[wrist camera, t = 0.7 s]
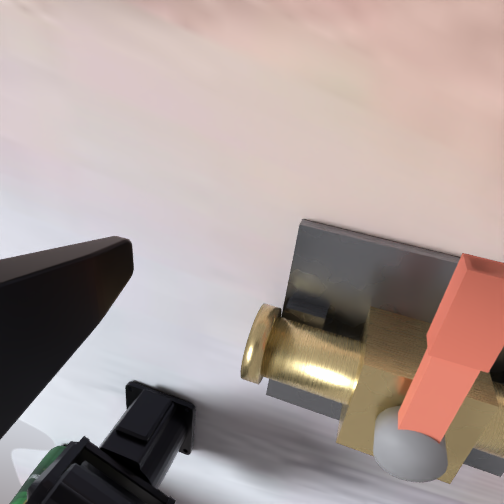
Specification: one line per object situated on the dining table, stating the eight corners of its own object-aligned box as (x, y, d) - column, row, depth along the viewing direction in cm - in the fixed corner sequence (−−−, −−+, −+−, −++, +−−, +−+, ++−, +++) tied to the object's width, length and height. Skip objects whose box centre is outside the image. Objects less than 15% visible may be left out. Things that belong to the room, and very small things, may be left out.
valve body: (642, 301, 19) (723, 389, 14) (514, 471, 26) (540, 569, 21) (286, 215, 23) (255, 261, 18) (256, 382, 30) (228, 447, 25)
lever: (431, 461, 20) (433, 491, 19) (367, 438, 21) (365, 466, 20) (540, 268, 14) (554, 292, 13) (447, 246, 15) (452, 266, 14)
